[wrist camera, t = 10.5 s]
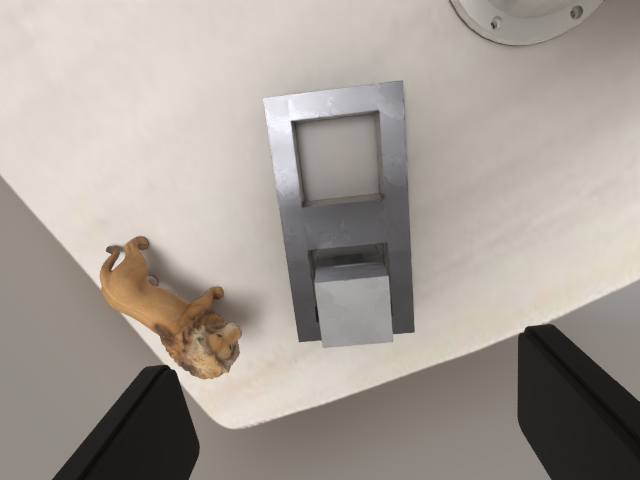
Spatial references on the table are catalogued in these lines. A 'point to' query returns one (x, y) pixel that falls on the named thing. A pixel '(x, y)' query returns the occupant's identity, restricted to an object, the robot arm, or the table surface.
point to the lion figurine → (171, 314)
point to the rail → (347, 212)
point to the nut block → (353, 296)
